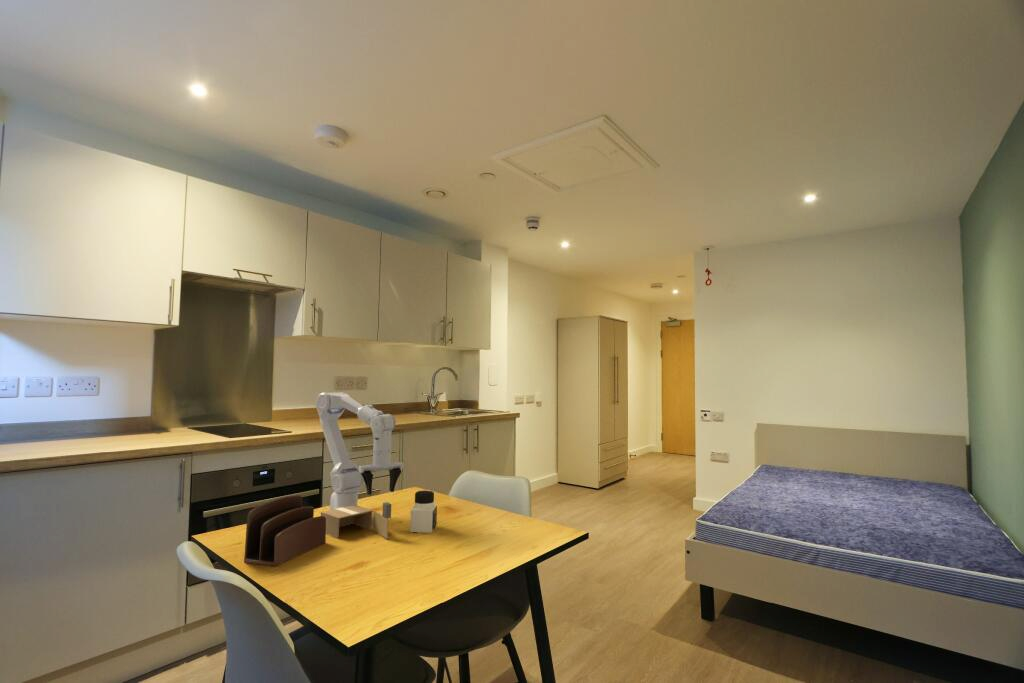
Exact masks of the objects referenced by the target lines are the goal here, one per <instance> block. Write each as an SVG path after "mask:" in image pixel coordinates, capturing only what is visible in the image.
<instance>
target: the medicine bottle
mask: <svg viewBox="0 0 1024 683" xmlns="http://www.w3.org/2000/svg"><path fill="white" fill-rule="evenodd" d="M437 513H438V504H435V492H434V491H432V490H429V489H428V490H427V489H424V490H423V489H422V490H418V491H416V492H415V493H414V505H413V507H412V508H411V509H410V529H409V532H410V533H411V532H417V533H416V534H418V533H419V534H432V532H433V533H434V531H435V529H436V528H437V525H438V524H437V521H438V520H437V518H438V517H437V515H438V514H437Z"/></svg>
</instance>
